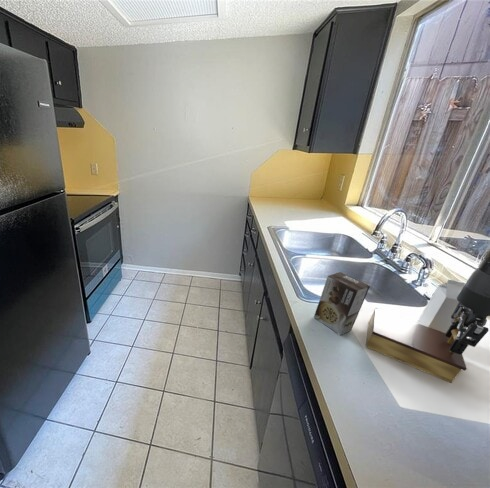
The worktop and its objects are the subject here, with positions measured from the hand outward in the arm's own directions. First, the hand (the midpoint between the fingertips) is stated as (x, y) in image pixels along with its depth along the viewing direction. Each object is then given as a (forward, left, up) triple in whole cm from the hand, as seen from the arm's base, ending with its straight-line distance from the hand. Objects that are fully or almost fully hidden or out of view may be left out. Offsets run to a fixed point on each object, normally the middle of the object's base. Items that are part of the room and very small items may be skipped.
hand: (452, 344), depth 67 cm
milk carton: (0, -14, -7) cm, 15 cm away
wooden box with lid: (+7, 0, -7) cm, 10 cm away
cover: (+7, 0, -2) cm, 7 cm away
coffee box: (+25, +2, -7) cm, 26 cm away
